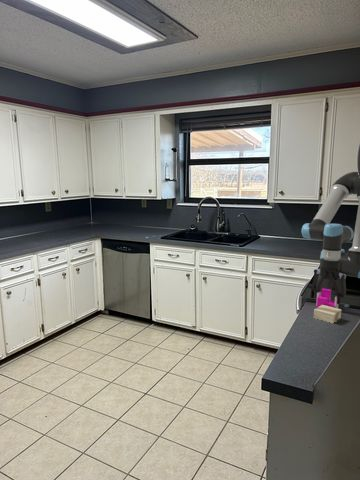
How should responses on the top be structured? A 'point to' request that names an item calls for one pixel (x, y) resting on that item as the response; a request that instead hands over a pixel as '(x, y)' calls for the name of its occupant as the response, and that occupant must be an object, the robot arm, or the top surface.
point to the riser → (327, 313)
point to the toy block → (325, 298)
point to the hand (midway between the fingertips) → (326, 308)
